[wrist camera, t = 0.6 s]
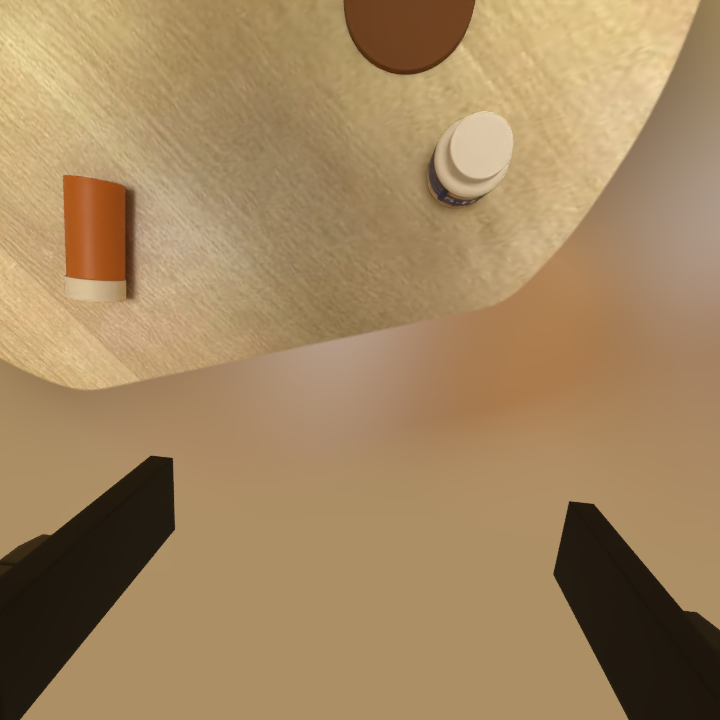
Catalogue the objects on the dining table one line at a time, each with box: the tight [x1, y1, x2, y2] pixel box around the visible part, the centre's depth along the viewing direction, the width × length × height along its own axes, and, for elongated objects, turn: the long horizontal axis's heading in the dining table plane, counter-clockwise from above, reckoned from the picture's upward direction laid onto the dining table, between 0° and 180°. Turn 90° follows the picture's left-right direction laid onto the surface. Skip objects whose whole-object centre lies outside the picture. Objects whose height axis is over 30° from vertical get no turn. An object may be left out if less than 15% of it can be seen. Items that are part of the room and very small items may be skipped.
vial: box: [63, 175, 126, 302], centre depth 36 cm, size 10×5×5 cm, turn 173°
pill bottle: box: [427, 111, 514, 208], centre depth 30 cm, size 5×5×9 cm
